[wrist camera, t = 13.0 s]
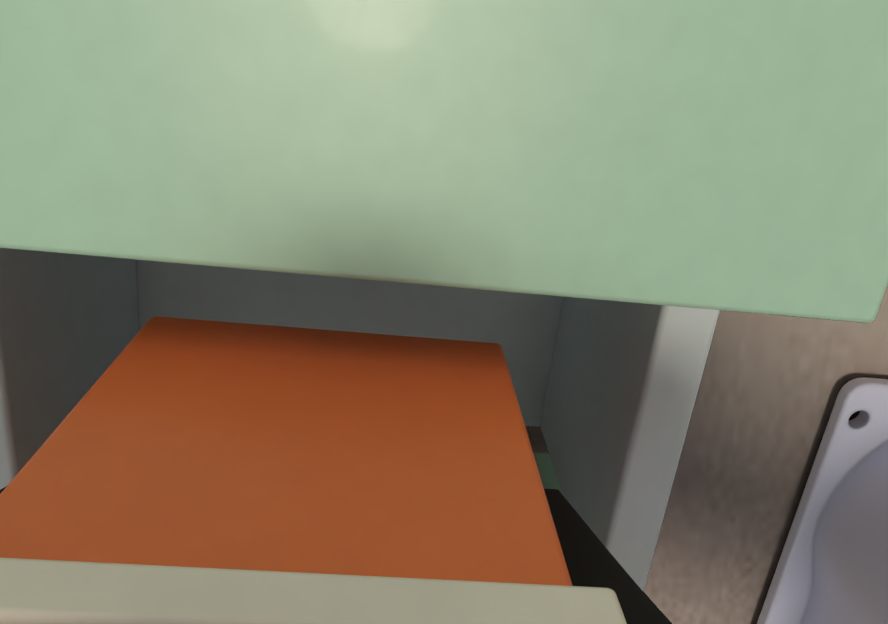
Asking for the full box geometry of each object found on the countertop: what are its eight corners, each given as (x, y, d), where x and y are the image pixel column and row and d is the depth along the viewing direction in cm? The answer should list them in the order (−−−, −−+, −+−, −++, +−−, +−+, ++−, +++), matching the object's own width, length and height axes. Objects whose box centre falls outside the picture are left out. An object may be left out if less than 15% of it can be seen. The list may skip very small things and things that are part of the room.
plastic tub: (473, 616, 11) (524, 1051, 6) (149, 601, 11) (-50, 1057, 6) (520, 327, 9) (636, 641, 5) (133, 296, 9) (-172, 605, 4)
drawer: (543, 638, 20) (602, 901, 14) (111, 619, 19) (-23, 893, 13) (694, -68, 13) (922, -137, 7) (49, -154, 12) (-277, -314, 6)
